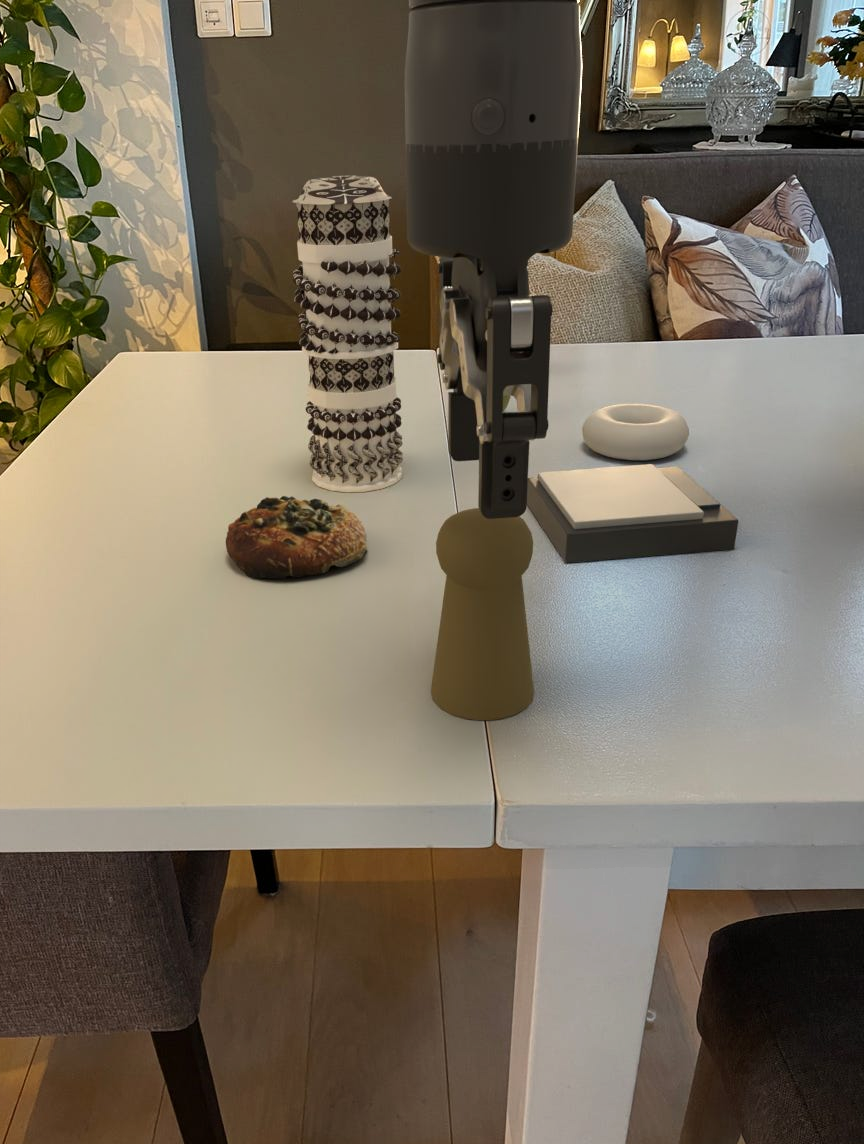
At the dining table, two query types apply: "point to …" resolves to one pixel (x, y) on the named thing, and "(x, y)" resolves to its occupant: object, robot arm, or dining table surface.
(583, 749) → the dining table surface
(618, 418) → the donut
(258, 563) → the bread roll
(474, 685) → the olive game pawn
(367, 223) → the decorative candle
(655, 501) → the scale
